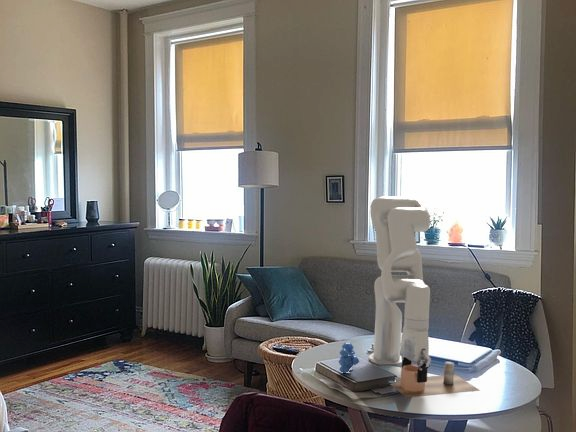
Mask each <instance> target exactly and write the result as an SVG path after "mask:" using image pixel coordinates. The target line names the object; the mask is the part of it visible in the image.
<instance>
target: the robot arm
mask: <svg viewBox="0 0 576 432" xmlns="http://www.w3.org/2000/svg"><path fill="white" fill-rule="evenodd" d="M370 220H371V223H372V226H373V229H374V232H375V237H376V259H377V260H376V261H377V266H378V268H379V270H380V271H381V272H380V273H381V274H380V276H378V277H377V278H376V279H375V281H374V284H373V285H374V286H373V289H374V297H375V298H374V299H375V318H374V319H375V321H374V322H375V324H374V343H373V345H372V348H373V352H372V353H371V354H369V356H368V358H369V361H370V362H371V363H373V364H375V365H379V366H393V365H401V368H402V367H403V366H404V365H412V362H413V363H416V365H417V366H418V368H419V369H418V370H417V382H418V383H422V382H427V377H428V371H429V367H430V366H431V365H430V364H431V362H432V359H431V358H432V357H430V355H429V352H430V351H429V346H430V345H429V327H430V326H429V321H430V320H429V319H430V304H431V303H430V301H431V288H430V286H429V285H427V284H426V283H425V282H424V276H423V274H424V273H423V259H422V253H421V252H420V250H419V248H418V245H417V241H416V234H415V233H418V232H419V233H421V232H422V233H424V232H425V233H426V232H427V231H428V230H429V228H430V227H431V217H430V213H429V211H428V209H427V207H426V206H425V205H424V204H423V203H422V202H421V201H420V200H419V199H418V198H416V197H412V196H388V195H387V196H378V197H376V198H373V200H372V201H371V203H370ZM392 272H395V273H396V272H397V273H398V272H403V273H404V272H406V273H407V274H406V275H405V274H403V275H401V274H392ZM397 303H404V313H402V311H401V309H400V308H399V306H398V305H397ZM403 314H404V316H403ZM403 318H404V319H403ZM402 322H403V323H402ZM402 324H403V325H402ZM402 326H403V327H402Z"/></svg>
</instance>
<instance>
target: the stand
mask: <svg viewBox="0 0 576 432" xmlns="http://www.w3.org/2000/svg"><path fill="white" fill-rule="evenodd" d="M443 371H444V372H443V374H442V375H441V374H440V375H433V376H427V382H425V388H424V389H423V391H416V392H413V391H408V390H405V389H403V388H402V387H401V386H400V385H401V378H398V379H396V378H395V379H396V382H395V383H394V384H389V385H390V386H391V387H393V388H394V389H395V390H397V392H399V393H400V394H401V395H403V396H404V398H415V397H416V398H417V397H426V396H436V395H445V394H456V393H458V394H459V393H467V392H474V391H475V392H478V391H480V389H479V388H477V387H476V386H474V385H473V384H471V383H469V382H468V381H466V380H465V379H464V378H461V377H460V376H459V375H457V374H454V373H455V363H454V362H453V361H444V370H443Z"/></svg>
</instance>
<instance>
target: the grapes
mask: <svg viewBox="0 0 576 432" xmlns="http://www.w3.org/2000/svg"><path fill="white" fill-rule="evenodd" d="M341 348H342V349H341V350H340V351H339V353H338V354H340V356H341V357H340V358H339V360H338V364H339V365H340V367H339V368H338V369H339V371H341V372H343V373H346V372H348V371H349V369H350V368H351V367H352V368H353V366H356V365H358V364H359V363H360V360H359V358H358V356H356V355H355V354H356V352H355V351H354V346H353V344H352V342H344V343H343V344H342V346H341ZM341 372H340V373H341Z"/></svg>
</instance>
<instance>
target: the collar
mask: <svg viewBox="0 0 576 432" xmlns="http://www.w3.org/2000/svg"><path fill="white" fill-rule="evenodd" d="M400 369H401V371H400V379H401V385H400V386H401V387H402V388H403V389H405V390H408V391H413V392H416V391H423V389H424V388H425V382H422V383H418V382H417V370H418V369H419V368H418V365H417V364H411V365H404V366H403V367H402V366H401V368H400Z"/></svg>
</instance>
